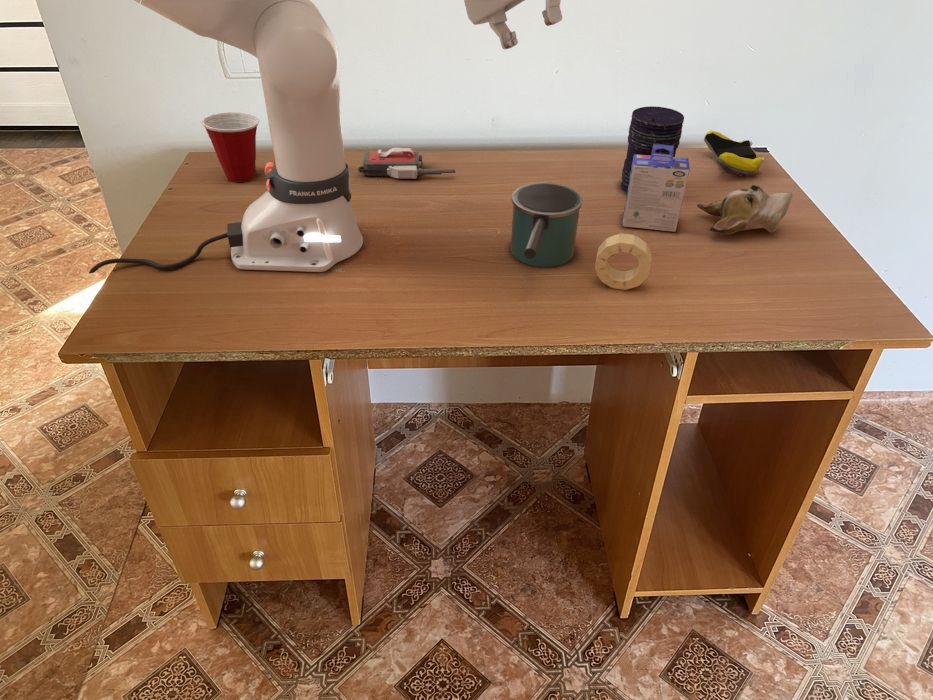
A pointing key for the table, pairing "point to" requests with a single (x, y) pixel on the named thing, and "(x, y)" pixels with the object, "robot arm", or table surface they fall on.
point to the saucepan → (544, 223)
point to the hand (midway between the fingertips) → (531, 35)
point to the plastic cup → (234, 143)
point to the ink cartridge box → (656, 190)
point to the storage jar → (651, 135)
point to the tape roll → (620, 277)
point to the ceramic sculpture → (748, 210)
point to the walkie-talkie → (397, 164)
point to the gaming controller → (733, 154)
